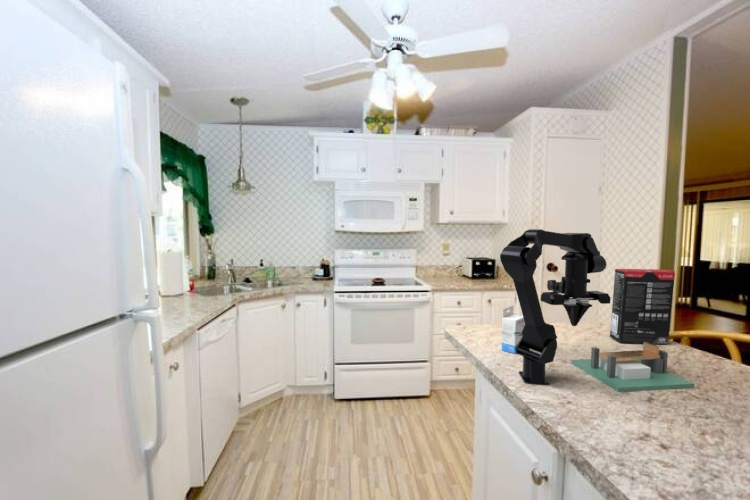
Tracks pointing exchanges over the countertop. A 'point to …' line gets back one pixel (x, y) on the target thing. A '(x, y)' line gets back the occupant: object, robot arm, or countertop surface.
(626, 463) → the countertop surface
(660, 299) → the graphics card box
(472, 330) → the countertop surface
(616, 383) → the socket board
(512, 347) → the ink box
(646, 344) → the strip
